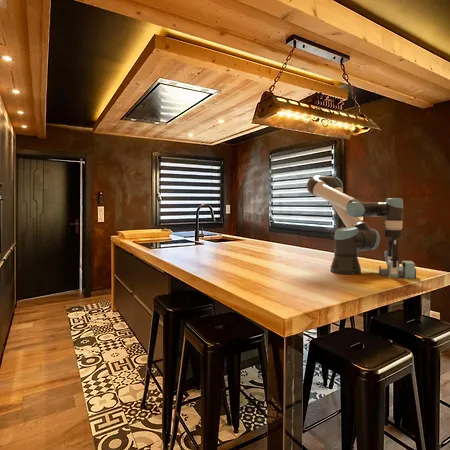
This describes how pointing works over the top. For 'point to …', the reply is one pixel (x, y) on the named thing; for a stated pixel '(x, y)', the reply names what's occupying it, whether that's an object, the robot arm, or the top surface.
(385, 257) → the grey small pieces
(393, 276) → the grey green block
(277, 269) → the top surface
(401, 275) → the grey green clamp
